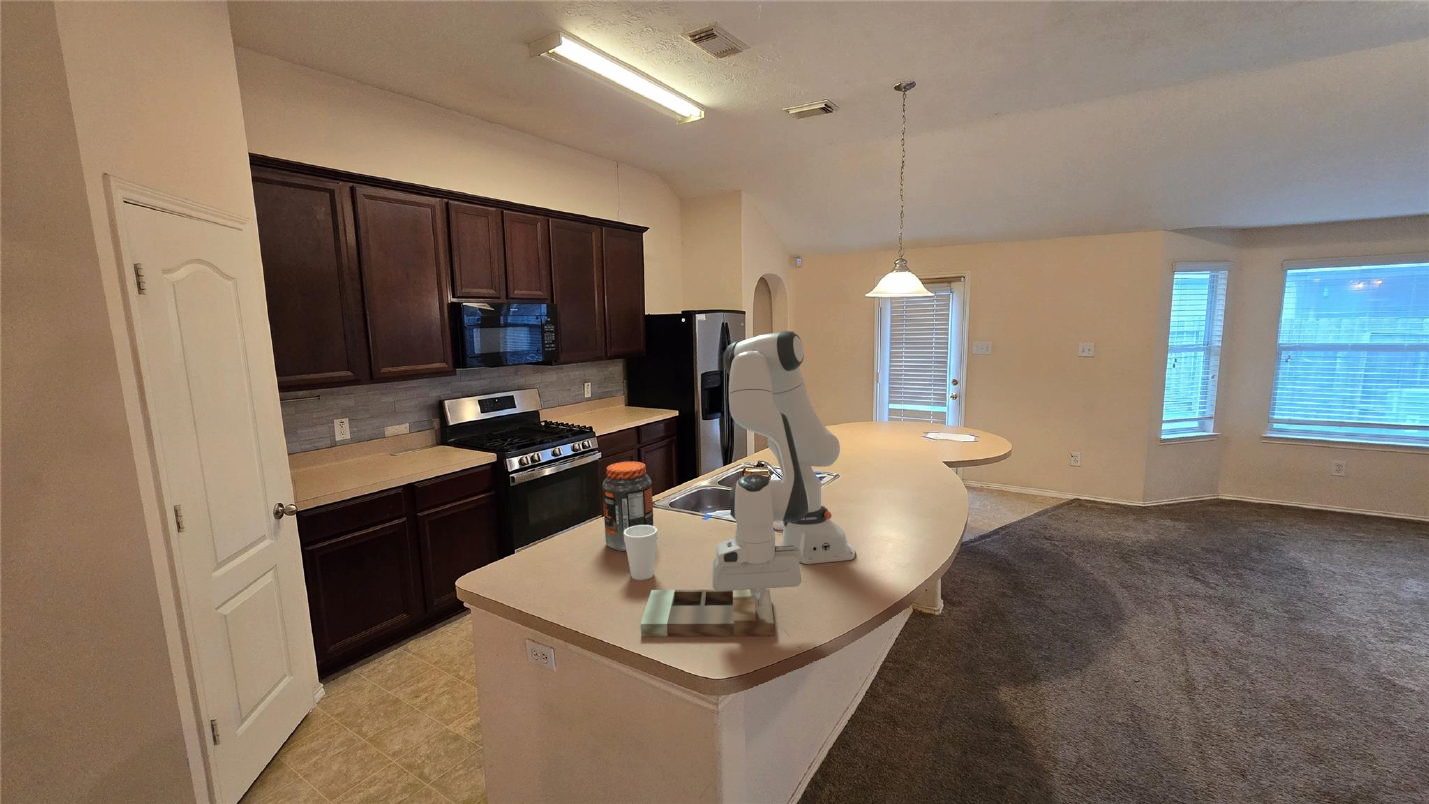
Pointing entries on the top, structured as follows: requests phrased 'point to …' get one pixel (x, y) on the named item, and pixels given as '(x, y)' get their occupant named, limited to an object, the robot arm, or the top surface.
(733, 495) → the robot arm
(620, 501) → the supplement tub
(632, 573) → the foam cup
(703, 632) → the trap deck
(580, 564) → the top surface
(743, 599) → the maple block
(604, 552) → the top surface
